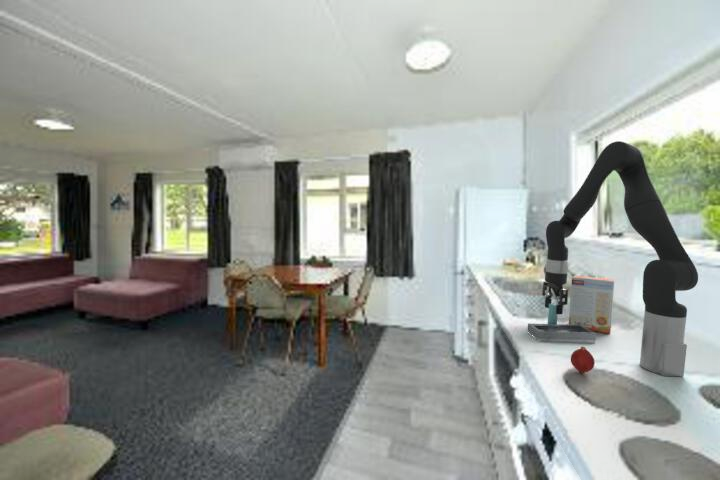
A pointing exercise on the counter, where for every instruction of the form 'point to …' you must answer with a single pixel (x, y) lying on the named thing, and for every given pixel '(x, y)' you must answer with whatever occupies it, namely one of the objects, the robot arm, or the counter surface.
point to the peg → (552, 314)
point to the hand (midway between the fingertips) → (553, 310)
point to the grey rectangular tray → (561, 333)
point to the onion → (582, 360)
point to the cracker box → (591, 303)
